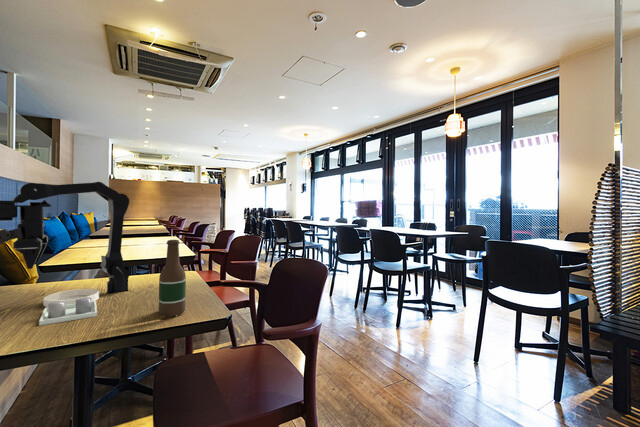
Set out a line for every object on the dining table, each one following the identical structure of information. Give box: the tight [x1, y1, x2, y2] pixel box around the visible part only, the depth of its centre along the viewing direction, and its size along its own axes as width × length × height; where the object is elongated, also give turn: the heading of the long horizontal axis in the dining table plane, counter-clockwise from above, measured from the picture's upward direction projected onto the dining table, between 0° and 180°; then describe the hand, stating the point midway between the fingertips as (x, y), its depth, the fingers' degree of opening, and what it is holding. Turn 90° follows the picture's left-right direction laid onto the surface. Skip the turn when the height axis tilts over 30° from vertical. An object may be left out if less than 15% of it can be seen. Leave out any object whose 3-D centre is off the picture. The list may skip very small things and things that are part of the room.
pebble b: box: [47, 301, 66, 318], centre depth 91 cm, size 4×4×4 cm
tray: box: [38, 300, 98, 327], centre depth 93 cm, size 13×14×2 cm
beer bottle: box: [158, 239, 187, 318], centre depth 97 cm, size 8×8×24 cm
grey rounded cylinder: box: [75, 298, 92, 314], centre depth 95 cm, size 4×4×4 cm
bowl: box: [43, 288, 100, 308], centre depth 106 cm, size 15×15×3 cm
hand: (32, 266), depth 101 cm, fingers open, 9 cm apart
